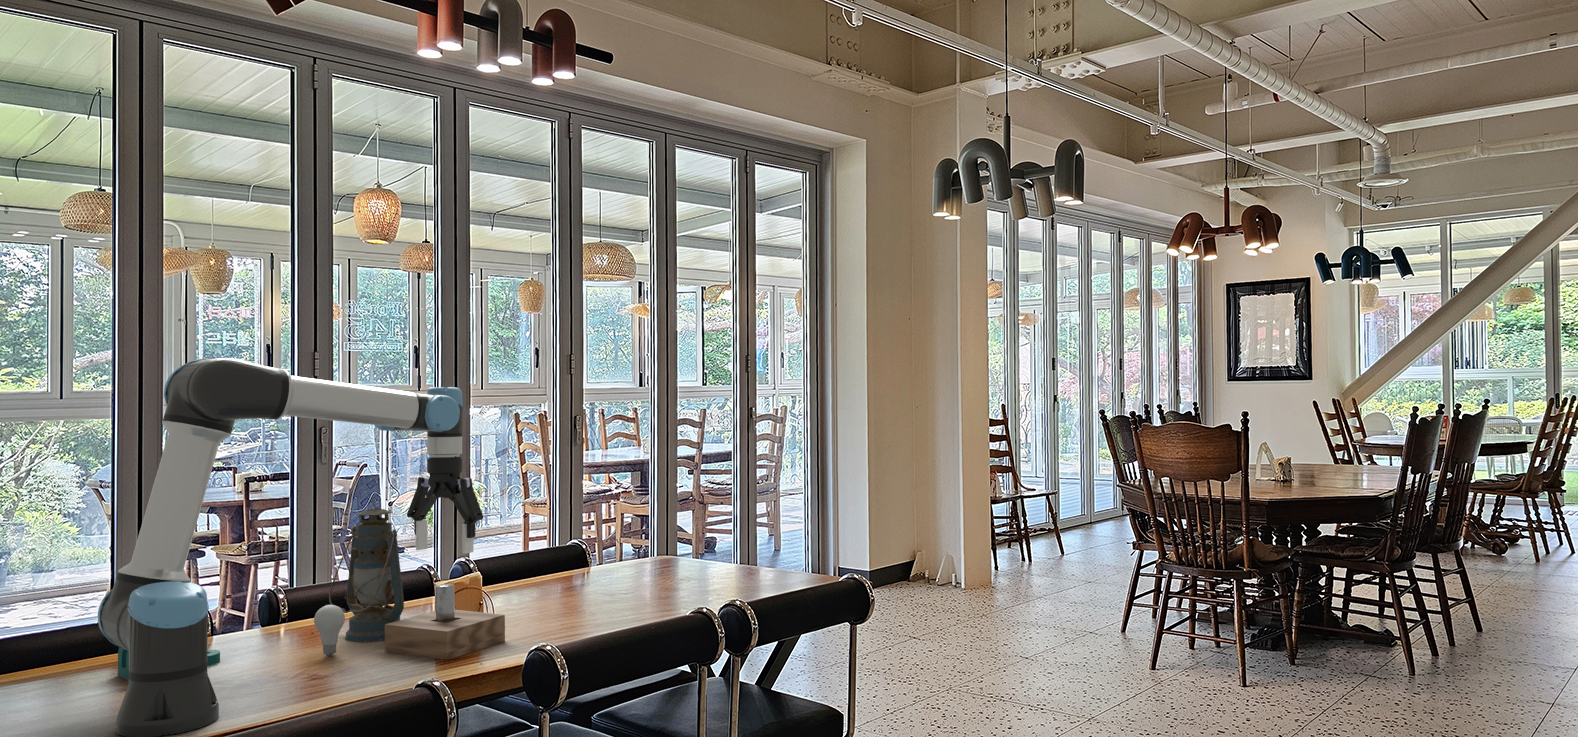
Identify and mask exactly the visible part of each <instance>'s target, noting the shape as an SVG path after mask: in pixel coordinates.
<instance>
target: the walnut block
mask: <svg viewBox="0 0 1578 737" xmlns="http://www.w3.org/2000/svg"><path fill="white" fill-rule="evenodd" d="M504 642H506V614H501V613H491V612H490V613H489V612H483V611H482V612H481V611H473V610H472V611H471V610H459V609H455V620H454V621H450V622H447V623H444V622H436V610H435V611H432V612H427V613H423V614H419V615H415V616H412V617H409V618H403V619H400V621H396V622H392V623H388V624H385V640H384V653H390V654H396V655H397V654H399V655H407V656H413V657H421V658H428V659H435V658H436V659H437V660H443V659H449V660H452V659H454V658H457V657H460V656H464V655H466V654H470V653H473V652H476V651H479V650H482V649H486V648H488V647H489V648H490V647H492V646H495V645H498V644H501V643H504ZM451 658H452V659H451Z"/></svg>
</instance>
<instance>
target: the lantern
mask: <svg viewBox="0 0 1578 737" xmlns="http://www.w3.org/2000/svg"><path fill="white" fill-rule="evenodd" d="M393 513H394V512H393V511H391V510H388V509H385V508H383V509H382V508H381V509H380V506H376V507H373V508H371V509H366V510H363V511H361V512H357V513H356V514H355V515H357V516H360V524H356V525H355V526H353V527H351V528H352V529H351V531H352V533H351V536H350V538H349V540H348V543H347V545H346V547H345V550H344V552H343V554H342V557H341V559H340V561H339V564H338V567H337V569H336V572H335V575H334V577H333V580H332V583H331V586H330V590H329V594H328V600H329V603H330V604H329V605H333V603H332V600H331V595H332V592H333V591H332V590H333V587H334V585H335V581H336V579H337V575H338V573H339V571H340V568H341V565H342V562H343V560H344V557H345V556H346V552H347V550H348V548H349V545H351V550H350V557H349V558H350V561H349V568H348V579H347V587H346V594H345V595H344V600H346V603H347V606H348V608H349V610H347V611H346V609H345V608H344V607H343V608H342V607H340V608H341V609H342V610H343V612H344V614H348V613H350V612H351V613H353V615H352V616H351V617H349V618H348V624H349V625H348V630H346V632H345V640H346V641H350V642H359V643H361V642H365V643H366V642H376V641H377V642H378V641H385V624H388V623H392V622H396V621H400V620H401V615H402V613H403V611H404V609H405V605H404V604H405V599H404V598H405V597H404V588H403V581H402V580H403V579H402V572H401V563H400V554H399V546H398V545H399V543H398V542H399V541H398V531H397V529H393V523H392V522H388V521H389V520H390V519H389V514H393ZM383 515H384V517H380V516H383ZM365 516H367V517H368V518H365ZM350 543H351V544H350ZM392 603H393V604H394V605H393V606H392V605H390V604H392Z"/></svg>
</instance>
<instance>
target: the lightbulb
mask: <svg viewBox="0 0 1578 737" xmlns="http://www.w3.org/2000/svg"><path fill="white" fill-rule="evenodd" d="M341 608H342V607H340V606H338V605H335V604H332V605H331V604H326V605H324V606H322V607H321V608H319V609H318V610H317V611H316V613H315V614H314V619H313V622H314V626H315V628H316V630H317V632H318V633H319V636H320V640H321V645H322V651H323V655H324V656H327V657H333V655H334V654H336V652H337V644H338V638H339V634H340V632H341V630H342V628H343V626H344V624H345V621H346V619H345V618H346V616H345V615H346V614H345V612H344V610H342V609H341Z"/></svg>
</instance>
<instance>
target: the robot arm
mask: <svg viewBox="0 0 1578 737" xmlns="http://www.w3.org/2000/svg"><path fill="white" fill-rule="evenodd" d="M163 388H164V389H163V397H164V401H165V403H166V409H165V412H164V415H163V419H162V421H161V422H162V423H161V424H162V425H163V427H164V428H165V430H166V431H167V436H166V437H167V438H166V440H165V444H164V449H163V451H162V455H161V458H160V460H159V461H160V462H159V466H158V468H157V472H156V475H155V478H154V482H153V484H152V488H151V492H150V494H149V495H150V496H149V499H148V503H147V505H146V508H145V509H146V510H145V513H144V515H143V516H144V517H143V519H142V522H141V525H140V526H141V527H140V530H139V533H138V537H137V539H136V544H135V547H134V550H133V553H132V558H131V561H130V562H129V563H127V564H125V565H124V566H122V567H121V568H120V569H118V571H117V574H116V578H115V580H114V584H113V587H112V589H110V590H109V591H108V593H107V594H106V595H105V596H104V597H103V598H102V599H101V602H100V604H99V606H98V609H97V610H98V611H97V624H98V627H99V629H100V631H101V633H102V635H103V636H104V637H105V638H106V639H107V640H108V641H109V642H110V643H111V644H112V645H114V646H115V647H118V648H122V649H126V650H128V651H129V681H128V684H127V687H126V691H125V694H124V697H123V698H122V699H123V700H122V703H121V705H120V709H119V711H118V713H117V716H116V725H115V726H116V733H117V734H118V735H120V736H123V737H162V736H161V735H164V736H169V735H168V734H170V735H174V734H173V733H176V734H181V733H185V731H186V732H190V731H193V730H196V729H200V728H203V727H204V726H205V727H206V726H207V725H210V724H212V723H214V722H215V721H216V720H218V719H219V715H220V712H219V711H220V705H219V700H218V698H217V696H216V693H215V690H214V687H213V684H212V681H211V679H210V677H209V674H208V666H207V650H208V640H209V639H208V626H209V625H208V621H209V618H208V617H209V616H208V615H209V614H208V613H209V609H210V608H209V607H210V606H209V602H208V593H207V591H206V589H205V588H204V587H203V586H201V585H199V584H197V583H194V582H191V579H190V577H189V575H188V574H187V572H186V570H185V566H186V563H187V559H188V556H189V552H190V549H191V545H192V541H193V538H194V535H195V534H194V533H195V530H196V527H197V524H198V520H199V516H200V513H201V509H202V506H203V502H204V499H205V495H206V492H207V489H208V485H209V481H210V477H211V475H212V474H211V473H212V470H213V468H214V464H215V460H216V457H217V454H218V453H217V452H218V449H219V446H220V444H221V443H222V442H223V441H225V440H226V439H228V438H230V437H231V436H232V432H233V429H234V425H235V422H236V420H237V421H238V420H252V419H253V420H255V419H256V420H257V419H259V420H262V419H263V420H273V421H277V420H280V419H281V418H283V417H284V416H287V417H297V418H307V419H315V420H317V419H318V420H325V421H334V422H344V423H353V424H362V425H363V424H364V425H372V426H375V428H376V429H378V430H379V431H384V432H385V431H387V432H388V431H389V432H396V431H399V432H400V431H408V432H409V431H412V432H413V431H415V432H423V431H424V432H426V436H427V439H426V441H427V442H426V454H427V455H428V457H427V459H426V472H427V473H428V474H429V476H428V475H427V476H419V477H418V479H417V487H416V489H415V491H414V494H413V497H412V500H411V502H410V505H409V507H408V510H407V513H406V516H407V518H410V519H412V520H413V521H414V522H413V523H414V524H413V525H414V535H415V550H416V551H421V550H428V525H429V524H428V519H427V518H426V517H427V515H428V514H429V512H430V511H431V510H432V507H433V506H434V505H435V503H436V502H437V500H438V499H439V498H443V499H449V500H450V501H451V502H452V503H453V504H454V506H455V507H456V509H457V512H459V514H460V515H461V517H462V519H463V523H462V524H461V533H462V534H461V554H463V555H464V554H470V553H474V538H476V523H477V522H479V521H482V520H483V519H484V515H483V511H482V509H481V507H480V504H479V501H478V498H477V496H476V493H475V490H474V488H473V480H472V477H462V478H461V473H462V472H463V457H462V456H460V455H461V454H463V413H464V412H463V409H464V404H463V402H464V401H463V391H462V390H461V389H460V388H459V387H455V386H447V387H446V386H445V387H444V386H441V387H438V386H435V387H434V386H433V387H428V389H427V392H426V393H420V392H413V391H405V390H400V389H399V390H397V389H392V388H383V387H378V386H377V387H376V386H369V385H362V384H353V383H348V382H347V383H346V382H342V381H341V382H340V381H333V380H327V379H326V380H325V379H317V378H310V377H303V376H296V375H291V374H290V373H289V372H288V370H287V369H284V368H280V367H279V368H277V367H271V366H266V365H262V364H257V363H253V362H249V361H245V360H242V359H235V358H232V357H231V358H230V357H219V358H199V359H194V360H192V361H188V362H186V363H184V364H182V365H180V366H179V367H177V368H175V370H174V371H173V372H172V373H171V374H170V375H169V376H168V378H167V379H166V381H165V384H164V387H163ZM180 732H181V733H180ZM166 734H167V735H166Z"/></svg>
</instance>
